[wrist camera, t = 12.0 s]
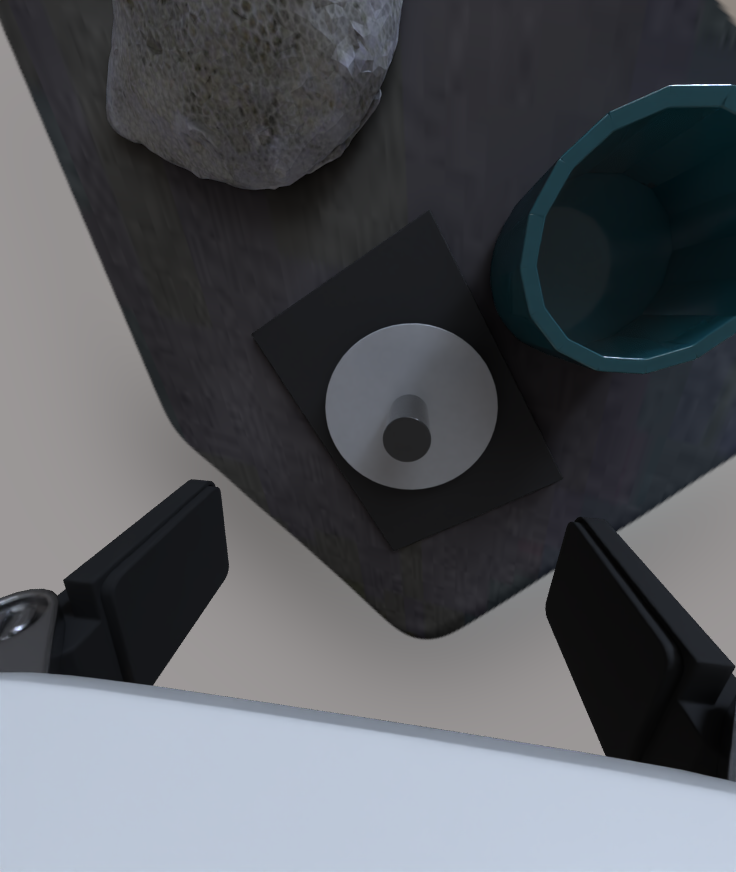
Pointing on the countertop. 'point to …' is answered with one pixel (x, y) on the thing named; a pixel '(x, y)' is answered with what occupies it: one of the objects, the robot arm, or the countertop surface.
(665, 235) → the pot
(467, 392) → the lid
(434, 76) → the countertop surface
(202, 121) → the stone
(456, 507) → the mat
